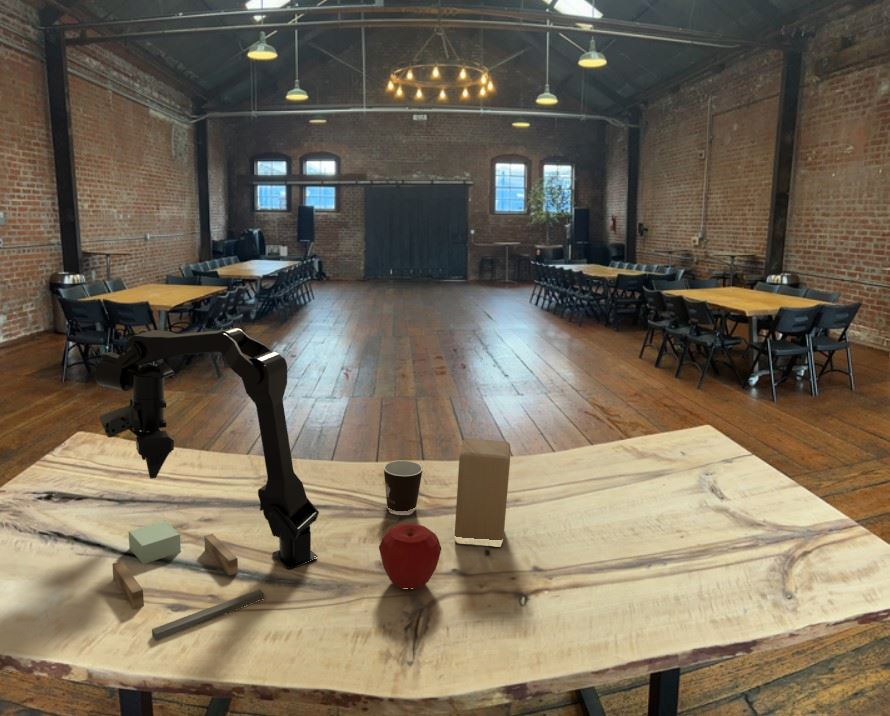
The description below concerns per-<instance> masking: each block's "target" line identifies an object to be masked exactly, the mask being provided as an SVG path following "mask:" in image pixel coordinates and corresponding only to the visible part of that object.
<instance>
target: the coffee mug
mask: <svg viewBox="0 0 890 716" xmlns="http://www.w3.org/2000/svg"><path fill="white" fill-rule="evenodd" d="M383 474H384V485H385V499H386V507H387V506H388V508H390V509H392V510H395V511H408V510H410V509H413V508H415V507H416V508H417V505H418V499H419V492H420V487H421V482H422V481H421V480H422V476H423V466H422V465H421V464H420V463H418V462H416V461H412V460H402V459H400V460H393V461H389V462H387V463H385V464H384V465H383Z"/></svg>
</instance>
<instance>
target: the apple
mask: <svg viewBox="0 0 890 716" xmlns="http://www.w3.org/2000/svg"><path fill="white" fill-rule="evenodd" d="M378 550H379V554H380V559H381V563H382V567H383V569H384V572H385V573H386V575H387V577H388V579H389V580H390V582H391V583H392V584H393V585H395V586H396V587H398V586H399V587H398V588H400V587H401V588H400V589H402V588H408V589H411V588H416V589H418V588H421V587H422V586H425V585H426V584H428V583H429V581H430V580H431V578H432V576H433V574H434V573H435V571H436V569H437V567H438V563H439V561H440V556H441V554H442V553H441V552H442V546H441V543H440V540H439V538H438V536H437V535H436V532H433V531H432V530H431V529H429V528H428V527H426V526H425V525H421V524H417V523H412V522H410V523H409V522H406V523H404V522H403V523H399V524H396V525H395V526H393V527H391V528H390V529H388V530H387V531H385V533H384V534H383V537H382V538H381V542H380V544H379V547H378ZM420 586H421V587H420ZM417 587H418V588H417Z"/></svg>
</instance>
